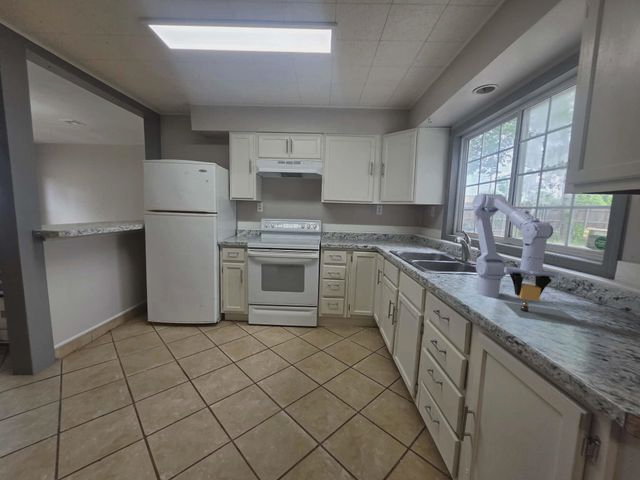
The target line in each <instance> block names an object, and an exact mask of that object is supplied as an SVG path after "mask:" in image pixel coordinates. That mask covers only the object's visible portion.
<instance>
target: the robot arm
mask: <svg viewBox="0 0 640 480" xmlns="http://www.w3.org/2000/svg"><path fill="white" fill-rule="evenodd" d="M506 198H507V197H505V196H503V194H499V193H498V194H495V193H483V192H482V193H481V192H479V193H477V194H476V195H475V196H474V198H473V200H472V202H471V204H472V209H473V215H474V220H475V227H476V232H477V238H478V243H479V249H480V253H481V255H479V256H478V257H477V258H476V259H475V260H476V265H475V270H476V273H477V275H478V278H477V283H476V291H477V294H478V295H480V296H483V297H486V298H493V299H497V298H499V295H500V288H501V287H500V286H501V283H502V282H501V281H502V279H504V277H505V276H506V275H507V274H509V276H510V278H511V281H512V284H513V289H514V295H515V294H516V295H515V296H517V295H520V290H521V284H522V283H523V282H524V279H525V278H524V277H523V275H524V276H531V277H532V276H533V277H534V279H535V284H534V285H536V286H538V287H540V288H541V292H540V296H542V293H543V291H544V290H545V288H547V287H548V286H549V285H550V283H552V279H555V280H556V279H557V280H558V279H559V275H560V273H559V272H556V271H550V270H544V269H543V265H544V259H545V253H546V247H547V241H548V239H550V238H551V237H552V236H553V233H554V227H553V226H552V225H551V223H550V222H546V221H540V218H538V217H534V216H533V215H532V214H531V213H530V211H529V210H528V209H518V208H516V207H515V206H514V205H513V204H512V203H510V202H509V201H508V200H507V199H506ZM498 211H500V212H502V213H503V215H506V216H507V217H509V218H508V221H509V222H510V223H511V225H514V227H516V228H517V229H518V230H519V231H520V236H522V240H521V241H522V243H523V245H522V251H521V253H522V254H521V258H520V259H521V260H520V267H515V266H513V267H511V266H510V267H509V266H508V265H507V264H506V262H505V260H504V257H502V256H501V255H500V254H499V253H498V251H497V247H496V242H495V241H496V240H495V237H494V231H493V228H492V223H491V218H492V216H494V215H495V214H496V213H497V212H498Z"/></svg>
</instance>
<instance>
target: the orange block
mask: <svg viewBox="0 0 640 480" xmlns="http://www.w3.org/2000/svg"><path fill="white" fill-rule="evenodd" d="M540 292H541V288H540V287H538V286H536V285H535V284H534V283H527V282H522V284H521V290H520V295H516V294H515V293H514V295H515V296H516V297H518V298H519V299H521V300H529V301H536V302H539V301H540V297H541V295H540Z"/></svg>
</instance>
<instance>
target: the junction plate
mask: <svg viewBox="0 0 640 480" xmlns="http://www.w3.org/2000/svg"><path fill="white" fill-rule="evenodd" d="M503 304H505V306H507V307H508V309H510V310H511V311H512V312H513V313H515V315H516V316H518V317H519V318H522V319H530V320H535V321H541V322H547V323H548V322H549V323H554V324H561V325H566V326H567V325H568V326H573V327H580V328H585V329H586V328H587V329H591V327H590V326H588V325H587V324H586V323H584V322H582V321H580V320H578V319H577V318H575V317H574V316H572V315H571V314H569V313H568V312H566V311H564V310H563V309H557V308H556V309H555V308H549V307H542V306H534V305H529V304H528V307H529V309H528V312H524V311H521V306H522V305H523V303H522V304H520V303H513V302H506V301H503Z"/></svg>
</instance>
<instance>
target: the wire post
mask: <svg viewBox="0 0 640 480" xmlns="http://www.w3.org/2000/svg"><path fill="white" fill-rule="evenodd" d="M528 305H529V302H527V301H523V302H522V306H521V311H524V312H528V309H529V307H528Z"/></svg>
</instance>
